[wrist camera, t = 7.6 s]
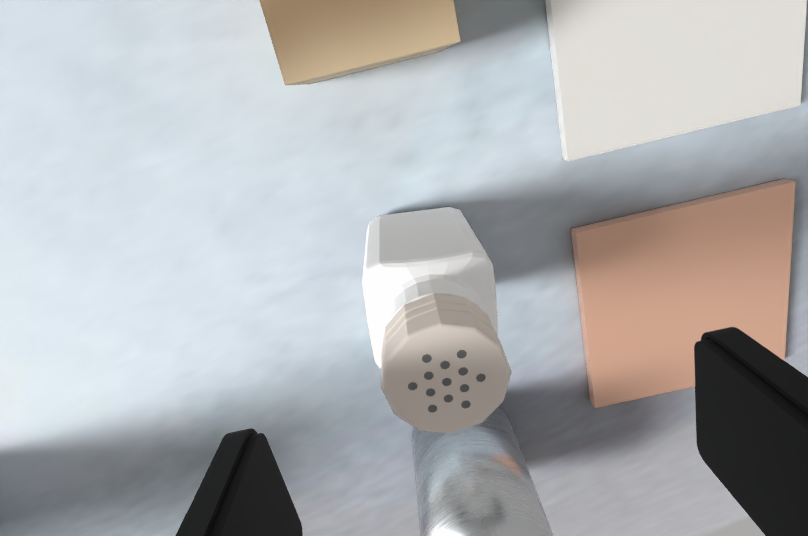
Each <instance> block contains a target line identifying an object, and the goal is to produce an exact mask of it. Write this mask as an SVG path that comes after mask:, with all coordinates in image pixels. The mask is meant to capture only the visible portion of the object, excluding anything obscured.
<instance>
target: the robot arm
mask: <svg viewBox="0 0 808 536" xmlns="http://www.w3.org/2000/svg"><path fill="white" fill-rule="evenodd" d="M694 361H695V396H696V432H697V447H698V450H699V453H700V455H701V457H702V459H703V460H704V462H705V463H706V464H707V465H708V467H709V468H710V469H711V470H712V471H713V473H714V474H715V475H716V476H717V477H718V479H719V480H720V481H721V482H722V483H723V485H724V486H725V487H726V488H727V489H728V491H729V492H730V493H731V494H732V496H733V497H734V498H735V499H736V500H737V502H738V503H739V504H740V505H741V506H742V508H743V509H744V510H745V511H746V512H747V514H748V515H749V516H750V517H751V518H752V520H753V521H754V522H755V523H756V524H757V526H758V527H759V528H760V529H761V531H762V532H763V533H764V534H765V535H766V536H808V377H807V376H805V375H804V374H802V373H801V372H799V371H798V370H797V369H795V368H794V367H792V366H791V365H789V364H788V363H787V362H785V361H784V360H782V359H781V358H780V357H778V356H777V355H775V354H774V353H772V352H771V351H770V350H768V349H767V348H765V347H764V346H762V345H761V344H760V343H758V342H757V341H755V340H754V339H752V338H751V337H750V336H748V335H747V334H745V333H744V332H743V331H741V330H740V329H738V328H736V327H729V328H724V329H719V330H714V331H710V332H705V333H704V334H702V337H701V341H697V342H696V343H695V345H694ZM176 536H302V526H301V522H300V519H299V517H298V514H297V512H296V509H295V507H294V504H293V502H292V500H291V497H290V495H289V492H288V490H287V487H286V485H285V483H284V480H283V478H282V475H281V473H280V470H279V468H278V466H277V463H276V461H275V458H274V456H273V453H272V451H271V449H270V446H269V444H268V441H267V439H266V437H265V435H264V434H262V433H260V434H257V432H256V431H255V430H254V429H246V430H241V431H237V432H232V433H228V434H226V435H225V436H224V437H223V439H222V441H221V443H220V446H219V448H218V450H217V452H216V454H215V456H214V458H213V460H212V462H211V464H210V466H209V468H208V471H207V473H206V475H205V477H204V479H203V481H202V483H201V485H200V487H199V489H198V491H197V493H196V495H195V498H194V500H193V502H192V504H191V506H190V508H189V510H188V512H187V513H186V515H185V517H184V519H183V521H182V524H181V526H180V528H179V530H178V532H177V534H176Z"/></svg>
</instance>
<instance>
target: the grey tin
mask: <svg viewBox="0 0 808 536" xmlns="http://www.w3.org/2000/svg"><path fill="white" fill-rule="evenodd" d="M412 446H413V457H414V469H415V480H416V492H417V503H418V514H419V526H420V536H553V533H552V531H551V528H550V526H549V523H548V520H547V518H546V515H545V512H544V510H543V507H542V504H541V502H540V499H539V497H538V494H537V491H536V489H535V486H534V483H533V481H532V478H531V475H530V473H529V470H528V468H527V465H526V462H525V460H524V457H523V454H522V452H521V449H520V446H519V444H518V441H517V439H516V436H515V433H514V431H513V428H512V425H511V423H510V420H509V418H508V416H507V414H506V413H505V411H504V410H503V409H502V408H501V407H500V406H498V407H497V408H496V409H495V410H494V411H493V412H492V413H491V414H490V415H489V416H488V417H487V418H486V419H485V420H484V421H483V422H482V423H480V424H477V425H474V426H471V427H468V428H466V429H463V430H460V431H457V432H454V433H443V432H432V431H421V430H419V429H417V428H416V427H414V429H413V433H412Z"/></svg>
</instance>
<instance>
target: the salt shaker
mask: <svg viewBox="0 0 808 536" xmlns="http://www.w3.org/2000/svg"><path fill="white" fill-rule="evenodd" d="M362 284H363V291H364V298H365V306H366V312H367V319H368V326H369V332H370V338H371V344H372V349H373V354H374V359H375V362H376V364H377V365H378V366H379V367H380V368H381V371H382V372H381V388H382V390H383V392H384V394H385V396H386V399H387V401H388V403H389V405H390V407H391V409H392V411H393V413H394V414H395V415H396V416H398V417H399V418H401V419H403V420H404V421H406V422H408V423H409V424H411V425H412V426H414V427H416V428H417V429H419V430H421V431H432V432H443V433H454V432H457V431H460V430H463V429H466V428H468V427H471V426H474V425H477V424H480V423H482V422H483V421H484V420H485V419H486V418H487V417H488V416H489V415H490V414H491V413H492V412H493V411H494V410H495V409H496V408H497V407H498V406H499V405H500V404H501V403H502V402H503V401H504V398H505V394H506V391H507V387H508V383H509V379H510V375H511V370H510V367H509V364H508V362H507V359H506V356H505V353H504V351H503V348H502V345H501V343H500V341H499V339H498V327H497V303H496V289H495V279H494V269H493V265H492V263H491V261H490V259H489V257H488V255H487V253H486V252H485V250H484V248H483V247H482V245H481V244H480V242H479V240H478V239H477V237H476V235H475V234H474V232H473V230H472V229H471V227H470V225H469V224H468V222H467V221H466V219H465V217H464V216H463V214H462V212H461V211H460V210H459V209H455V208H451V207H445V208H437V209H428V210H420V211H412V212H404V213H396V214H388V215H380V216H378V217H376V218H374V219H373V220H371V221H370V222H369V225H368V229H367V235H366V246H365V257H364V268H363V280H362Z"/></svg>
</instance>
